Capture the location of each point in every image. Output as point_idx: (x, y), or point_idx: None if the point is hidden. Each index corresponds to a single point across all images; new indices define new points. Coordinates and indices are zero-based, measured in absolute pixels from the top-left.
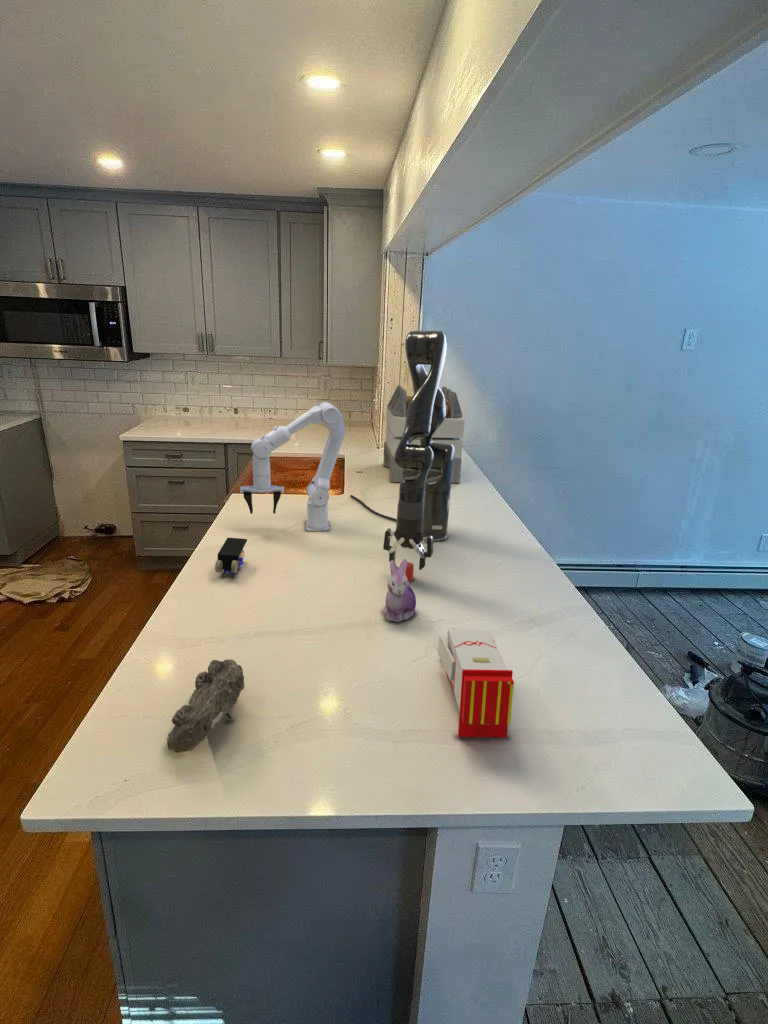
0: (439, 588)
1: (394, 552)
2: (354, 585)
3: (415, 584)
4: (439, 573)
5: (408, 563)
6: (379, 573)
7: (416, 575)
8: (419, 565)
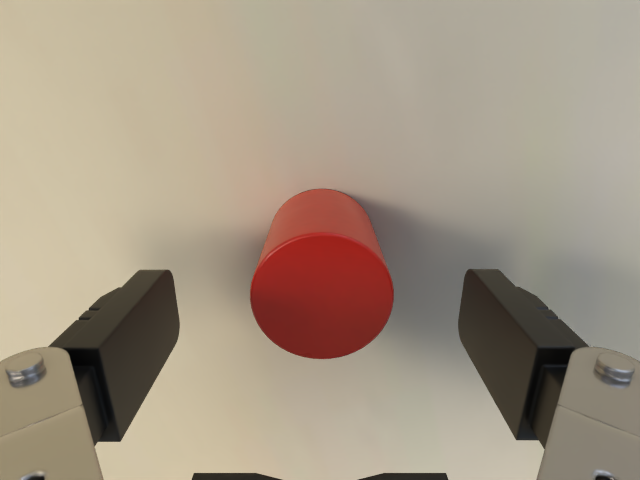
0: (587, 289)
1: (110, 402)
2: None
3: (407, 295)
4: (594, 9)
5: (325, 268)
6: (90, 227)
7: (385, 144)
8: (478, 367)
